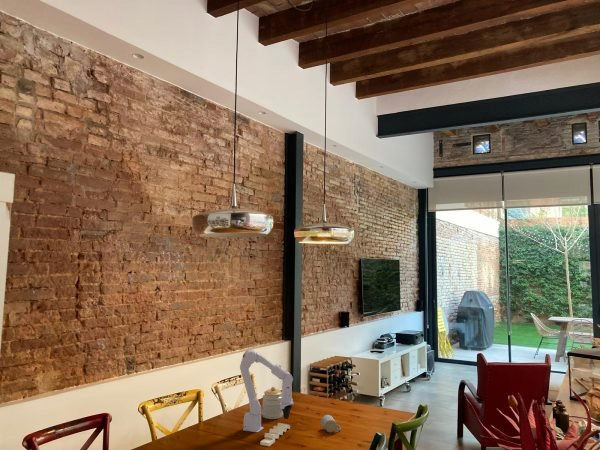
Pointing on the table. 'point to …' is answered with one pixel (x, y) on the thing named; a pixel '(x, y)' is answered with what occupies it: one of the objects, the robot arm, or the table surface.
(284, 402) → the robot arm
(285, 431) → the tile
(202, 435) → the table surface
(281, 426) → the tile
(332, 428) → the ceramic mug
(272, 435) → the tile
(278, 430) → the tile
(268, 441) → the tile
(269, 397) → the jar
